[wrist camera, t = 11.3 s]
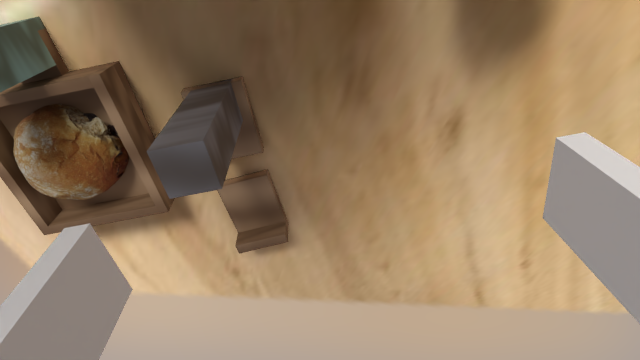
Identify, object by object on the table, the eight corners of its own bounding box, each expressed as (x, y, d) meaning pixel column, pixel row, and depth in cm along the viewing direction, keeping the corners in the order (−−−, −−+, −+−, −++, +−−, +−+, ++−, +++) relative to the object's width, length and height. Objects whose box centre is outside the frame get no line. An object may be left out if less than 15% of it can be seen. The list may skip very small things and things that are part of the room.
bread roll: (45, 95, 41) (-34, 131, 35) (108, 90, 36) (31, 130, 30) (94, 171, 46) (33, 213, 40) (154, 175, 41) (96, 223, 36)
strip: (218, 182, 43) (212, 200, 40) (267, 169, 43) (265, 186, 40) (242, 233, 48) (239, 253, 45) (288, 222, 47) (287, 241, 44)
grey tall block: (183, 88, 38) (132, 154, 26) (242, 76, 37) (217, 137, 25) (210, 157, 42) (177, 241, 30) (263, 147, 41) (250, 228, 30)
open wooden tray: (-56, 37, 34) (-245, 86, 22) (92, 4, 33) (-21, 37, 21) (64, 211, 44) (-20, 308, 33) (178, 190, 44) (135, 280, 32)
